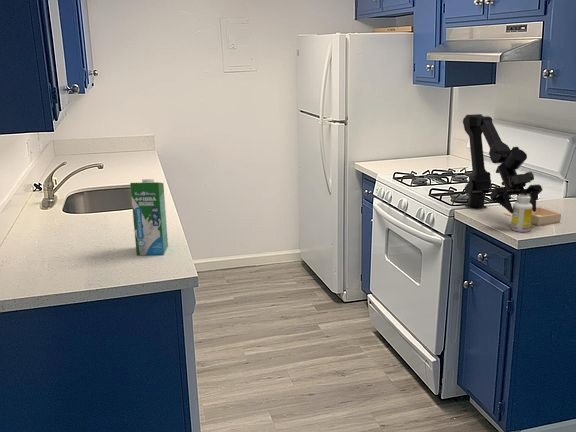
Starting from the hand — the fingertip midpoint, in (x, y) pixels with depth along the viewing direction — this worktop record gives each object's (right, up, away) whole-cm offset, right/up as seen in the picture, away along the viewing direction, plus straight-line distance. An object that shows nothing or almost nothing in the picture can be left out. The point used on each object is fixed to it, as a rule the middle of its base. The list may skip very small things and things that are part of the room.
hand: (523, 212), depth 214 cm
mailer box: (+10, -2, +17) cm, 20 cm away
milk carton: (-133, -14, -15) cm, 134 cm away
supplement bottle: (0, -7, +3) cm, 7 cm away
